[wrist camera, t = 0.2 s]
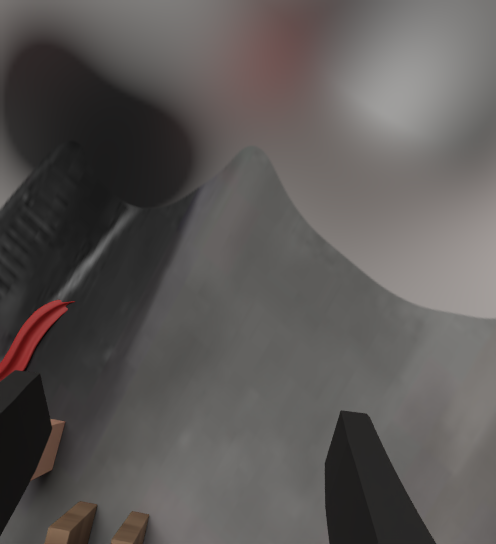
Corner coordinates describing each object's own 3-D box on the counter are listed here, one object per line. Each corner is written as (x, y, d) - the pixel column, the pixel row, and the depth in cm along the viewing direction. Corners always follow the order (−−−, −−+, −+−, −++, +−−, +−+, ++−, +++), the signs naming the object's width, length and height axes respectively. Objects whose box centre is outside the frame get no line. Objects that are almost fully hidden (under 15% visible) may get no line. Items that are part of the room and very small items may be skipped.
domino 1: (52, 469, 39) (15, 488, 32) (34, 466, 39) (-5, 484, 32) (65, 421, 40) (32, 430, 33) (48, 418, 40) (12, 426, 33)
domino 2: (84, 556, 37) (53, 595, 31) (66, 552, 37) (31, 591, 31) (97, 504, 38) (69, 531, 32) (79, 501, 38) (48, 527, 32)
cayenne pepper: (-21, 405, 40) (-33, 406, 38) (-45, 361, 41) (-58, 360, 39) (98, 329, 42) (92, 327, 40) (73, 289, 43) (67, 285, 41)
